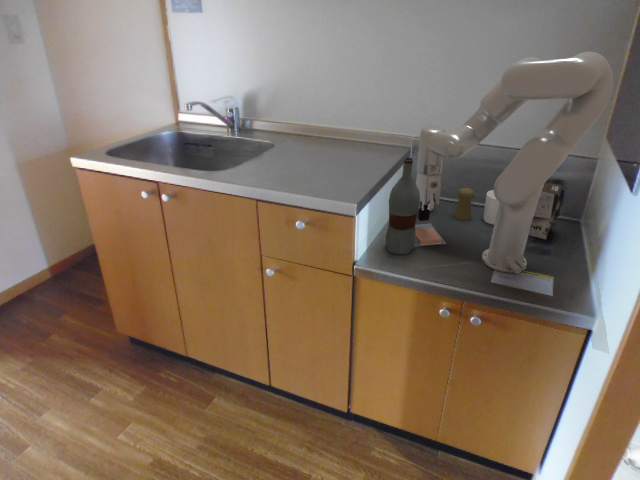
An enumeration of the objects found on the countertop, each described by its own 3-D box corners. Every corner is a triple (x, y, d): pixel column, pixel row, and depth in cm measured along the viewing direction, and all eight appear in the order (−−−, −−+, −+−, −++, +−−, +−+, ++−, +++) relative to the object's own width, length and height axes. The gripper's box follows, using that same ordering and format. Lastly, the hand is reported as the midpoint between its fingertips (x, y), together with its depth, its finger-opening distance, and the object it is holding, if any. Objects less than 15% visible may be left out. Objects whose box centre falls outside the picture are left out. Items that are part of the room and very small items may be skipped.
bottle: (391, 238, 146) (398, 151, 130) (418, 245, 142) (429, 156, 127) (380, 252, 139) (387, 161, 123) (408, 259, 135) (419, 166, 120)
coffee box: (546, 240, 144) (560, 195, 136) (525, 234, 147) (537, 190, 139) (550, 228, 151) (563, 184, 143) (530, 223, 154) (542, 180, 146)
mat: (446, 245, 142) (446, 243, 142) (413, 248, 141) (414, 246, 140) (430, 224, 154) (430, 223, 154) (399, 227, 152) (400, 226, 152)
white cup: (477, 220, 156) (482, 194, 151) (488, 213, 161) (494, 188, 156) (497, 228, 151) (503, 201, 146) (509, 220, 156) (515, 195, 151)
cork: (471, 222, 155) (476, 193, 150) (453, 220, 156) (458, 192, 151) (469, 214, 160) (474, 186, 155) (452, 213, 161) (457, 185, 156)
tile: (431, 232, 148) (440, 243, 141) (411, 233, 147) (420, 245, 141) (431, 227, 148) (441, 239, 141) (411, 229, 147) (420, 241, 140)
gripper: (450, 175, 131) (442, 229, 140) (432, 158, 143) (426, 208, 153) (426, 176, 130) (420, 231, 139) (409, 159, 142) (405, 210, 152)
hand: (423, 219), depth 146 cm, fingers closed
